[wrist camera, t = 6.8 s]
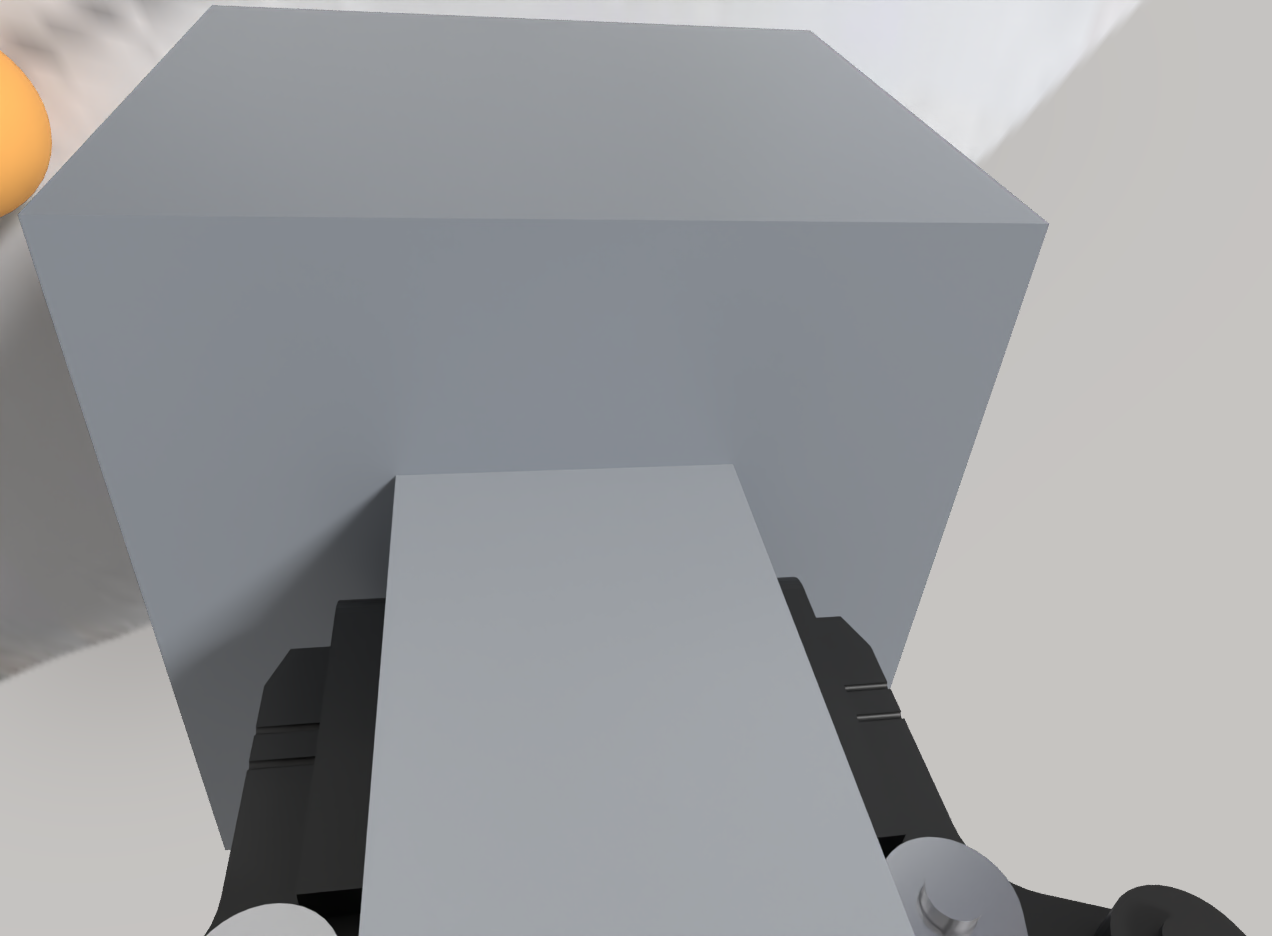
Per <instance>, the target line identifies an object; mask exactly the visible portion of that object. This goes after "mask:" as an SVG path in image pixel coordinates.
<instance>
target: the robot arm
mask: <svg viewBox="0 0 1272 936" xmlns="http://www.w3.org/2000/svg"><path fill="white" fill-rule="evenodd" d="M777 580H778V582H779V585H780V587H781V590H782V593H783V595H784V598H785V600H786V603H787V605H788V608H789V611H790V613H791V616H792V618H793V621H794V624H795V626H796V629H797V631H798V634H799V637H800V639H801V642H802V644H803V647H804V650H805V652H806V655H807V657H808V660H809V663H810V665H811V668H812V670H813V673H814V675H815V678H816V681H817V683H818V686H819V688H820V691H821V694H822V696H823V699H824V701H825V704H826V707H827V709H828V712H829V714H830V717H831V720H832V722H833V725H834V727H835V730H836V732H837V735H838V738H839V740H840V743H841V745H842V748H843V751H844V753H845V756H846V758H847V761H848V764H849V766H850V769H851V771H852V774H853V777H854V779H855V782H856V784H857V787H858V790H859V792H860V795H861V797H862V800H863V802H864V805H865V808H866V810H867V813H868V815H869V818H870V821H871V823H872V826H873V828H874V831H875V834H876V836H877V839H878V841H879V844H880V847H881V849H882V852H883V854H884V857H885V859H886V862H887V865H888V867H889V870H890V872H891V875H892V878H893V880H894V883H895V885H896V888H897V891H898V893H899V896H900V898H901V901H902V904H903V906H904V909H905V911H906V914H907V917H908V919H909V922H910V924H911V927H912V929H913V932H914V935H915V936H1246V935H1245V934H1244V933H1243V932H1242V931H1241V930H1240V929H1239V928H1238V927H1237V926H1236V925H1235V924H1234V923H1233V922H1232V921H1230V920H1229V919H1228V918H1227V917H1226V916H1225V915H1224V914H1222V913H1221V912H1220V911H1218V910H1217V909H1216V908H1215V907H1213V906H1212V905H1210V904H1209V903H1207V902H1205V901H1204V900H1202V899H1200V898H1198V897H1196V896H1194V895H1192V894H1190V893H1187V892H1185V891H1182V890H1179V889H1176V888H1173V887H1168V886H1162V885H1145V886H1140V887H1136V888H1134V889H1131V890H1129V891H1127V892H1126V893H1125V894H1123V895H1122V896H1121V897H1120V898H1119V899H1118V901H1117V902H1116V904H1115V905H1114V907H1113V908H1112V909H1108V908H1104V907H1100V906H1095V905H1091V904H1086V903H1081V902H1077V901H1072V900H1068V899H1063V898H1059V897H1054V896H1050V895H1045V894H1040V893H1037V892H1033V891H1030V890H1027V889H1025V888H1022V887H1020V886H1017V885H1015V884H1013V883H1011V882H1009V881H1008V880H1007V878H1006V877H1005V876H1004V875H1003V873H1002V872H1001V871H1000V870H999V869H998V868H997V867H996V866H995V865H994V864H993V863H992V862H991V861H989V860H988V859H987V858H986V857H985V856H983V855H982V854H980V853H978V852H977V851H976V850H974V849H972V848H970V847H968V846H966V845H965V843H964V842H963V841H962V839H961V838H960V836H959V835H958V833H957V831H956V829H955V827H954V825H953V824H952V821H951V819H950V817H949V815H948V812H947V810H946V808H945V806H944V804H943V802H942V799H941V797H940V795H939V793H938V791H937V789H936V786H935V784H934V782H933V780H932V778H931V776H930V773H929V771H928V769H927V767H926V765H925V763H924V760H923V759H922V756H921V754H920V752H919V749H918V747H917V745H916V743H915V741H914V739H913V737H912V734H911V732H910V730H909V728H908V726H907V723H906V721H905V719H902V718H901V714H900V712H901V710H900V708H899V706H898V704H897V702H896V700H895V698H894V695H893V693H892V691H891V689H888V687H887V680H886V678H885V676H884V674H883V671H882V669H881V667H880V665H879V663H878V661H877V658H876V656H875V654H874V652H873V650H872V648H871V646H870V645H869V644H868V643H867V642H866V641H865V640H864V639H863V638H862V637H861V636H860V635H859V634H858V633H857V632H856V631H855V630H854V629H853V628H852V627H851V626H850V625H849V624H848V623H847V622H846V621H845V620H844V619H843V618H842V617H841V616H836V617H819V618H816V616H815V614H814V611H813V609H812V607H811V604H810V602H809V599H808V597H807V594H806V592H805V590H804V587H803V585H802V583H801V582H800V580H799V579H798V578H796V577H779V578H777ZM385 604H386V598H370V599H352V600H339V601H338V602H337V605H336V610H335V617H334V624H333V631H332V638H331V646H329V647H313V648H296V649H290V650H289V652H288V653H287V655H286V656H285V657H284V659H283V660H282V662H281V663H280V664H279V666H278V667H277V669H276V670H275V671H274V673H273V674H272V675H271V677H270V678H269V680H268V681H267V682H266V684H265V685H264V689H263V694H262V699H261V703H260V708H259V713H258V718H257V723H256V735H254V738H253V743H252V748H251V753H250V758H249V770H247V773H246V777H245V782H244V787H243V792H242V797H241V802H240V807H239V812H238V817H237V822H236V827H235V832H234V837H233V842H232V847H231V852H230V857H229V862H228V866H227V871H226V877H225V881H224V886H223V891H222V896H221V900H220V903H219V907H218V910H217V913H216V915H215V917H214V920H213V922H212V924H211V926H210V928H209V929H208V931H207V932H206V934H205V936H359V926H360V914H361V902H362V889H363V877H364V864H365V852H366V840H367V827H368V815H369V802H370V790H371V778H372V765H373V753H374V740H375V728H376V716H377V703H378V691H379V678H380V666H381V654H382V641H383V629H384V616H385Z"/></svg>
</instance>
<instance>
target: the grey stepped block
mask: <svg viewBox="0 0 1272 936" xmlns="http://www.w3.org/2000/svg"><path fill="white" fill-rule="evenodd" d="M18 217H19V220H20V223H21V226H22V229H23V233H24V236H25V239H26V242H27V245H28V248H29V251H30V254H31V257H32V260H33V263H34V266H35V269H36V272H37V275H38V278H39V281H40V285H41V288H42V291H43V294H44V297H45V300H46V303H47V306H48V309H49V312H50V315H51V318H52V321H53V324H54V327H55V330H56V333H57V336H58V340H59V343H60V346H61V349H62V352H63V355H64V358H65V361H66V364H67V367H68V370H69V373H70V376H71V379H72V382H73V385H74V388H75V392H76V395H77V398H78V401H79V404H80V407H81V410H82V413H83V416H84V419H85V422H86V425H87V428H88V431H89V434H90V437H91V440H92V444H93V447H94V450H95V453H96V456H97V459H98V462H99V465H100V468H101V471H102V474H103V477H104V480H105V483H106V486H107V489H108V492H109V496H110V499H111V502H112V505H113V508H114V511H115V514H116V517H117V520H118V523H119V526H120V529H121V532H122V535H123V538H124V541H125V544H126V547H127V551H128V554H129V557H130V560H131V563H132V566H133V569H134V572H135V575H136V578H137V581H138V584H139V587H140V590H141V593H142V596H143V599H144V603H145V606H146V609H147V612H148V615H149V618H150V621H151V624H152V627H153V630H154V633H155V636H156V639H157V642H158V645H159V648H160V651H161V654H162V657H163V660H164V664H165V667H166V670H167V673H168V676H169V679H170V682H171V685H172V688H173V691H174V694H175V697H176V700H177V703H178V706H179V709H180V713H181V716H182V719H183V722H184V725H185V728H186V731H187V734H188V737H189V740H190V743H191V746H192V749H193V752H194V755H195V758H196V762H197V764H198V768H199V770H200V774H201V777H202V780H203V783H204V786H205V789H206V792H207V795H208V798H209V801H210V804H211V807H212V810H213V814H214V816H215V820H216V823H217V826H218V829H219V832H220V835H221V838H222V841H223V844H224V847H225V850H231V847H232V842H233V837H234V832H235V827H236V822H237V817H238V812H239V807H240V802H241V797H242V792H243V787H244V782H245V777H246V773H247V770H249V758H250V753H251V748H252V743H253V738H254V735H256V723H257V718H258V713H259V708H260V703H261V699H262V694H263V689H264V685H265V684H266V682H267V681H268V680H269V678H270V677H271V675H272V674H273V673H274V671H275V670H276V669H277V667H278V666H279V664H280V663H281V662H282V660H283V659H284V657H285V656H286V655H287V653H288V652H289V650H290V649H296V648H313V647H329V646H331V638H332V631H333V624H334V617H335V610H336V605H337V602H338V601H339V600H352V599H370V598H386V604H385V616H384V629H383V641H382V654H381V666H380V678H379V691H378V703H377V716H376V728H375V740H374V753H373V765H372V778H371V790H370V802H369V815H368V827H367V840H366V852H365V864H364V877H363V889H362V902H361V914H360V926H359V936H915V935H914V932H913V929H912V927H911V924H910V922H909V919H908V917H907V914H906V911H905V909H904V906H903V904H902V901H901V898H900V896H899V893H898V891H897V888H896V885H895V883H894V880H893V878H892V875H891V872H890V870H889V867H888V865H887V862H886V859H885V857H884V854H883V852H882V849H881V847H880V844H879V841H878V839H877V836H876V834H875V831H874V828H873V826H872V823H871V821H870V818H869V815H868V813H867V810H866V808H865V805H864V802H863V800H862V797H861V795H860V792H859V790H858V787H857V784H856V782H855V779H854V777H853V774H852V771H851V769H850V766H849V764H848V761H847V758H846V756H845V753H844V751H843V748H842V745H841V743H840V740H839V738H838V735H837V732H836V730H835V727H834V725H833V722H832V720H831V717H830V714H829V712H828V709H827V707H826V704H825V701H824V699H823V696H822V694H821V691H820V688H819V686H818V683H817V681H816V678H815V675H814V673H813V670H812V668H811V665H810V663H809V660H808V657H807V655H806V652H805V650H804V647H803V644H802V642H801V639H800V637H799V634H798V631H797V629H796V626H795V624H794V621H793V618H792V616H791V613H790V611H789V608H788V605H787V603H786V600H785V598H784V595H783V593H782V590H781V587H780V585H779V582H778V580H777V578H779V577H796V578H798V579H799V580H800V582H801V583H802V585H803V587H804V590H805V592H806V594H807V597H808V599H809V602H810V604H811V607H812V609H813V611H814V614H815V616H816V618H819V617H836V616H841V617H842V618H843V619H844V620H845V621H846V622H847V623H848V624H849V625H850V626H851V627H852V628H853V629H854V630H855V631H856V632H857V633H858V634H859V635H860V636H861V637H862V638H863V639H864V640H865V641H866V642H867V643H868V644H869V645H870V646H871V648H872V650H873V652H874V654H875V656H876V658H877V661H878V663H879V665H880V667H881V669H882V671H883V674H884V676H885V678H886V680H887V687H888V689H890V687H891V684H892V681H893V678H894V675H895V672H896V670H897V667H898V664H899V661H900V658H901V655H902V652H903V649H904V646H905V643H906V640H907V637H908V634H909V632H910V629H911V626H912V623H913V620H914V617H915V614H916V611H917V608H918V605H919V602H920V599H921V597H922V594H923V590H924V588H925V585H926V581H927V579H928V576H929V573H930V570H931V567H932V564H933V561H934V559H935V556H936V553H937V550H938V547H939V544H940V541H941V538H942V535H943V532H944V529H945V526H946V524H947V520H948V518H949V515H950V512H951V509H952V506H953V503H954V500H955V497H956V494H957V491H958V488H959V485H960V483H961V480H962V477H963V474H964V471H965V468H966V465H967V462H968V459H969V456H970V453H971V451H972V448H973V445H974V441H975V439H976V436H977V433H978V430H979V427H980V424H981V421H982V418H983V415H984V412H985V410H986V406H987V404H988V401H989V398H990V395H991V392H992V389H993V386H994V383H995V380H996V378H997V374H998V372H999V369H1000V366H1001V363H1002V360H1003V357H1004V354H1005V351H1006V348H1007V345H1008V342H1009V339H1010V337H1011V334H1012V331H1013V328H1014V325H1015V322H1016V319H1017V316H1018V313H1019V310H1020V307H1021V305H1022V301H1023V299H1024V296H1025V293H1026V289H1027V287H1028V284H1029V281H1030V278H1031V275H1032V272H1033V270H1034V266H1035V263H1036V260H1037V258H1038V255H1039V252H1040V249H1041V246H1042V243H1043V240H1044V237H1045V234H1046V232H1047V229H1048V225H1049V223H1048V222H1046V221H1045V220H1044V219H1043V218H1042V217H1040V216H1039V215H1038V214H1037V213H1035V212H1034V211H1033V210H1032V209H1030V208H1029V207H1028V206H1027V205H1026V204H1024V203H1023V202H1022V201H1020V200H1019V199H1018V198H1017V197H1016V196H1014V195H1013V194H1012V193H1011V192H1009V191H1008V190H1007V189H1006V188H1005V187H1003V186H1002V185H1001V184H999V183H998V182H997V181H996V180H995V179H993V178H992V177H991V176H990V175H988V174H987V173H986V172H985V171H983V170H982V169H981V168H980V167H979V166H977V165H976V164H975V163H974V162H972V161H971V160H970V159H969V158H967V157H966V156H965V155H964V154H962V153H961V152H960V151H959V150H957V149H956V148H955V147H954V146H953V145H951V144H950V143H949V142H948V141H946V140H945V139H944V138H943V137H941V136H940V135H939V134H938V133H936V132H935V131H934V130H933V129H931V128H930V127H929V126H928V125H927V124H925V123H924V122H923V121H922V120H920V119H919V118H918V117H917V116H915V115H914V114H913V113H912V112H910V111H909V110H908V109H907V108H906V107H904V106H903V105H902V104H901V103H899V102H898V101H897V100H896V99H894V98H893V97H892V96H891V95H889V94H888V93H887V92H886V91H884V90H883V89H882V88H881V87H880V86H878V85H877V84H876V83H875V82H873V81H872V80H871V79H870V78H868V77H867V76H866V75H865V74H863V73H862V72H861V71H860V70H858V69H857V68H856V67H855V66H854V65H852V64H851V63H850V62H849V61H847V60H846V59H845V58H844V57H842V56H841V55H840V54H839V53H837V52H836V51H835V50H834V49H832V48H831V47H830V46H829V45H828V44H826V43H825V42H824V41H823V40H821V39H820V38H819V37H818V36H816V35H815V34H814V33H813V32H811V31H808V30H785V29H761V28H737V27H714V26H690V25H667V24H643V23H619V22H596V21H572V20H548V19H525V18H501V17H477V16H454V15H430V14H407V13H383V12H359V11H336V10H312V9H288V8H265V7H241V6H218V5H212V6H211V7H210V8H209V9H208V10H207V11H206V12H205V13H204V14H203V15H202V17H201V18H200V19H199V20H198V21H197V22H196V23H195V24H194V25H193V26H192V27H191V28H190V29H189V31H188V32H187V33H186V34H185V35H184V36H183V37H182V38H181V39H180V40H179V41H178V42H177V44H176V45H175V46H174V47H173V48H172V49H171V50H170V51H169V52H168V53H167V54H166V55H165V56H164V58H163V59H162V60H161V61H160V62H159V63H158V64H157V65H156V66H155V67H154V68H153V69H152V70H151V72H150V73H149V74H148V75H147V76H146V77H145V78H144V79H143V80H142V81H141V82H140V83H139V84H138V86H137V87H136V88H135V89H134V90H133V91H132V92H131V93H130V94H129V95H128V96H127V97H126V98H125V100H124V101H123V102H122V103H121V104H120V105H119V106H118V107H117V108H116V109H115V110H114V111H113V112H112V114H111V115H110V116H109V117H108V118H107V119H106V120H105V121H104V122H103V123H102V124H101V125H100V126H99V128H98V129H97V130H96V131H95V132H94V133H93V134H92V135H91V136H90V137H89V138H88V139H87V141H86V142H85V143H84V144H83V145H82V146H81V147H80V148H79V149H78V150H77V151H76V152H75V153H74V155H73V156H72V157H71V158H70V159H69V160H68V161H67V162H66V163H65V164H64V165H63V166H62V167H61V169H60V170H59V171H58V172H57V173H56V174H55V175H54V176H53V177H52V178H51V179H50V180H49V181H48V183H47V184H46V185H45V186H44V187H43V188H42V189H41V190H40V191H39V192H38V193H37V194H36V195H35V197H34V198H33V199H32V200H31V201H30V202H29V203H28V204H27V205H26V206H25V207H24V208H23V209H22V211H21V212H20V213H19V214H18Z"/></svg>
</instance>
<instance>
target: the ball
mask: <svg viewBox="0 0 1272 936" xmlns="http://www.w3.org/2000/svg"><path fill="white" fill-rule="evenodd" d="M51 148H52V139H51V128H50V123H49V119H48V115H47V112H46V110H45V107H44V104H43V102H42V100H41V98H40V96H39V94H38V92H37V91H36V89H35V88H34V86H33V85H32V83H31V82H30V80H29V79H28V78H27V77H26V75H25V74H24V73H23V72H22V70H21V69H20V68H19V67H18V66H17V65H16V64H15V63H14V62H13V61H12V60H11V59H9V58H8V57H7V56H6V55H5V54H4V53H2V52H1V51H0V217H1V216H4V215H6V214H8V213H10V212H12V211H13V210H15V209H16V208H17V207H19V206H20V205H22V204H23V203H24V202H25V201H27V200H28V198H29V197H30V196H31V195H32V194H33V193H34V192H35V191H36V189H37V188H38V186H39V185H40V183H41V182H42V180H43V178H44V176H45V174H46V171H47V168H48V165H49V161H50V156H51Z"/></svg>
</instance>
